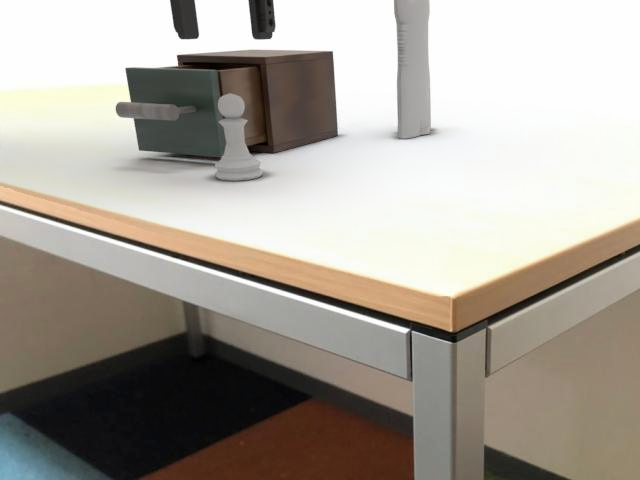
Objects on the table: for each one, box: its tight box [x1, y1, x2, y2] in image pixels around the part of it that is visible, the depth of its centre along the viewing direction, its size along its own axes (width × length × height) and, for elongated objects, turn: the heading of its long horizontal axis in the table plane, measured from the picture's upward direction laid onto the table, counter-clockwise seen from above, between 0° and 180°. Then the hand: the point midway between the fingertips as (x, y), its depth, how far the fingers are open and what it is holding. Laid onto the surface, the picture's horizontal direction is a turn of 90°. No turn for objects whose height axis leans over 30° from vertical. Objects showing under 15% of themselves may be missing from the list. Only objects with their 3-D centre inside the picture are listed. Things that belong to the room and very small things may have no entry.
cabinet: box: [176, 49, 339, 154], centre depth 94 cm, size 15×13×11 cm
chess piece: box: [214, 93, 264, 182], centre depth 74 cm, size 5×5×8 cm
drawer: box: [115, 63, 268, 158], centre depth 84 cm, size 18×11×9 cm, turn 157°
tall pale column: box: [393, 0, 432, 140], centre depth 97 cm, size 11×4×22 cm, turn 162°
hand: (225, 39), depth 70 cm, fingers open, 8 cm apart
